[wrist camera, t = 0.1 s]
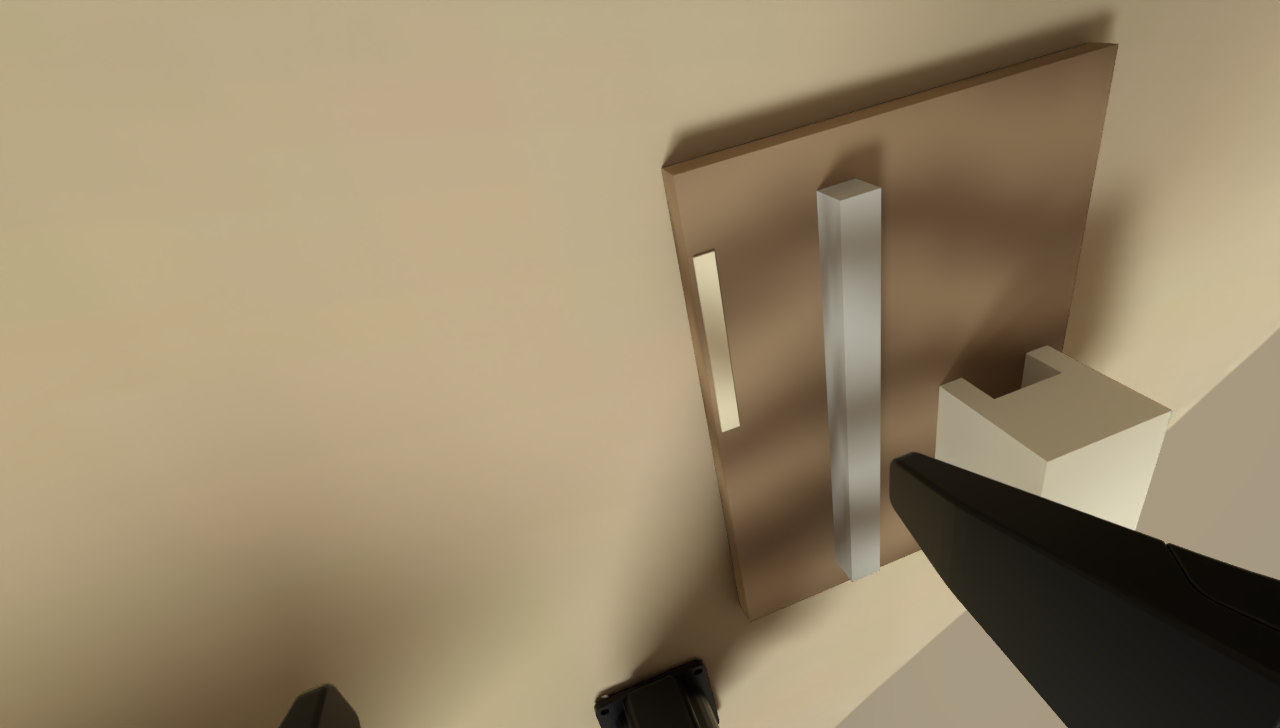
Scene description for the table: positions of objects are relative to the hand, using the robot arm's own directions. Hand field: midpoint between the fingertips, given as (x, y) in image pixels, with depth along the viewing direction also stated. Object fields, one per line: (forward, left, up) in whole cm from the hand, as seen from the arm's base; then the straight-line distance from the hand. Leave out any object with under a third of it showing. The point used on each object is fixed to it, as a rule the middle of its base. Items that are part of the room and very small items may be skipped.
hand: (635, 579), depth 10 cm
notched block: (-15, -20, -13) cm, 28 cm away
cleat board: (-10, -15, -15) cm, 23 cm away
